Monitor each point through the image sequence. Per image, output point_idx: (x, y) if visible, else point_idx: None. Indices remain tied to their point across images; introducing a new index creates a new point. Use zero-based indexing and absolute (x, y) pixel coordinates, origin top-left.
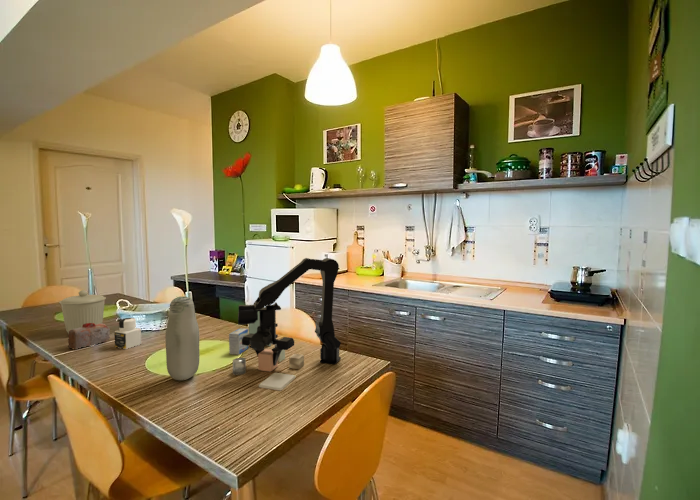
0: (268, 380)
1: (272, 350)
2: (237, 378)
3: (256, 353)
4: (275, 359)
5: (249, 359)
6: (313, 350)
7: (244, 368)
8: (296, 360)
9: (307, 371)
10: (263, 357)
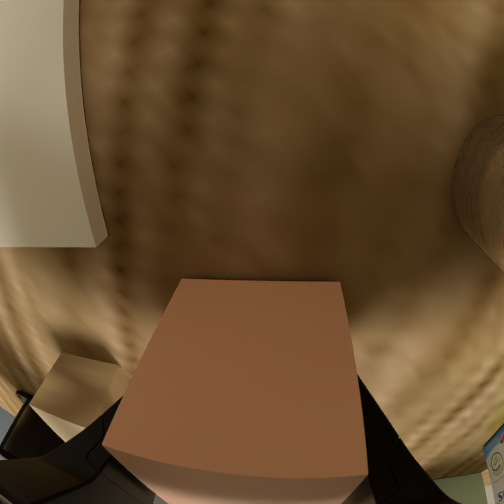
0: (32, 61)
1: (33, 494)
2: (449, 25)
3: (414, 461)
4: (118, 401)
5: (471, 395)
6: None
7: (484, 191)
8: (49, 398)
9: (16, 329)
10: (250, 421)
